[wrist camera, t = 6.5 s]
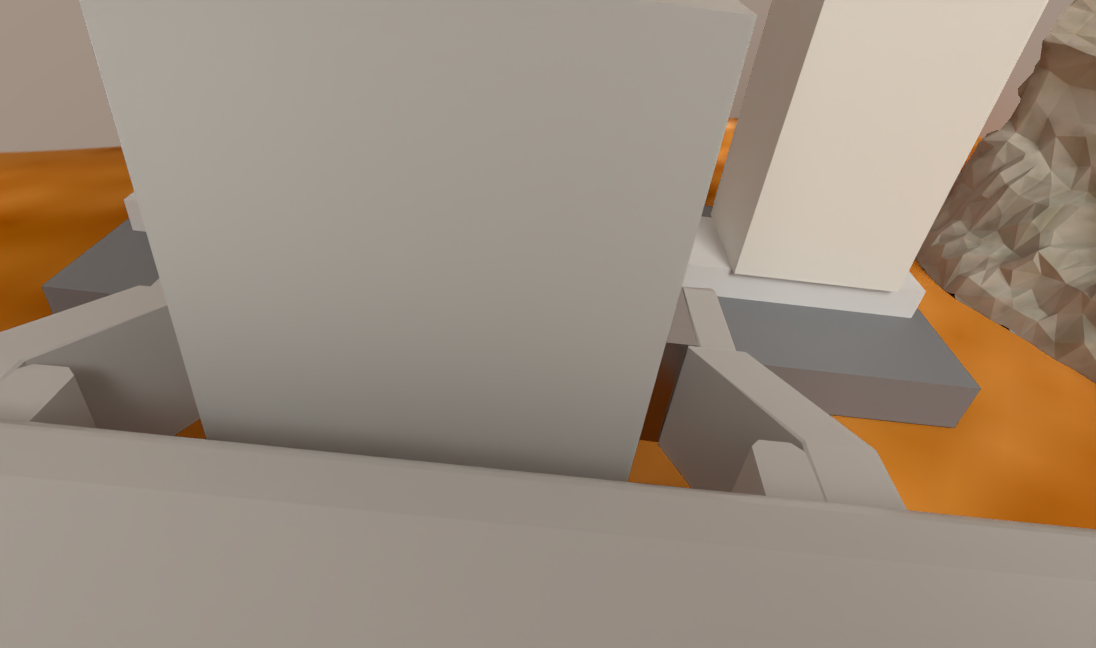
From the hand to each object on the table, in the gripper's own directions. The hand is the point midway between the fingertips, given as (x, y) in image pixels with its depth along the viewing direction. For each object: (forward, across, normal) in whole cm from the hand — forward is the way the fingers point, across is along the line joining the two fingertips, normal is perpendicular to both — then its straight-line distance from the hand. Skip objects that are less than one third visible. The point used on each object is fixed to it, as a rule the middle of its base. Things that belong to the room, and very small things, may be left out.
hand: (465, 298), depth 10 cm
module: (-1, 0, +6) cm, 6 cm away
